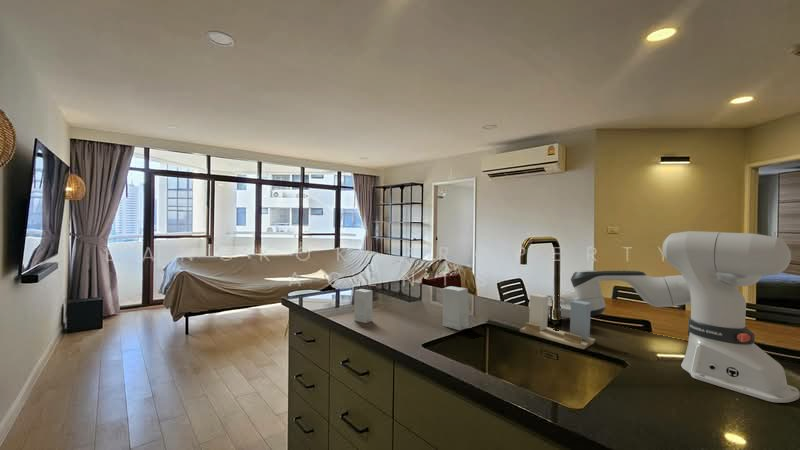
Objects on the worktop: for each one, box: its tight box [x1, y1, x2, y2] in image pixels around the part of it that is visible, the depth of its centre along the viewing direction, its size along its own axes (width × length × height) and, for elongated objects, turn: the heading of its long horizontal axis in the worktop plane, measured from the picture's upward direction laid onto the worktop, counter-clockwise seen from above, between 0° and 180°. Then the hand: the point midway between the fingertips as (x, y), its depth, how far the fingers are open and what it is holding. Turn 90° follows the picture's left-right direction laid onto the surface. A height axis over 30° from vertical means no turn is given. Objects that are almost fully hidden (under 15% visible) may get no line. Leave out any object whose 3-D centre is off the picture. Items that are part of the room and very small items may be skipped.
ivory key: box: [528, 293, 549, 330], centre depth 129 cm, size 4×5×12 cm
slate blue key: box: [569, 300, 591, 340], centre depth 119 cm, size 4×5×12 cm
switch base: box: [519, 322, 596, 350], centre depth 123 cm, size 10×22×3 cm, turn 43°
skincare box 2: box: [441, 285, 469, 331], centre depth 131 cm, size 8×6×15 cm
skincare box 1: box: [353, 288, 374, 324], centre depth 136 cm, size 6×4×12 cm
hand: (547, 312), depth 134 cm, fingers closed
